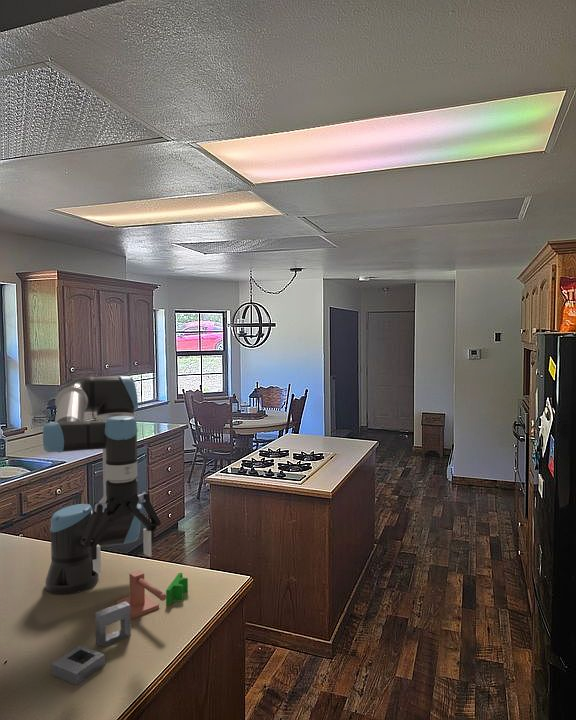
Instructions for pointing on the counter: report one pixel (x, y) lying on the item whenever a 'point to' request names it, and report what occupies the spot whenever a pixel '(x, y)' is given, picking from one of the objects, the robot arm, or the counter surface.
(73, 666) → the link
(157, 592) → the hook
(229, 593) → the counter surface
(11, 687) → the counter surface
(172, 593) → the pipe clamp
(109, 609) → the link
